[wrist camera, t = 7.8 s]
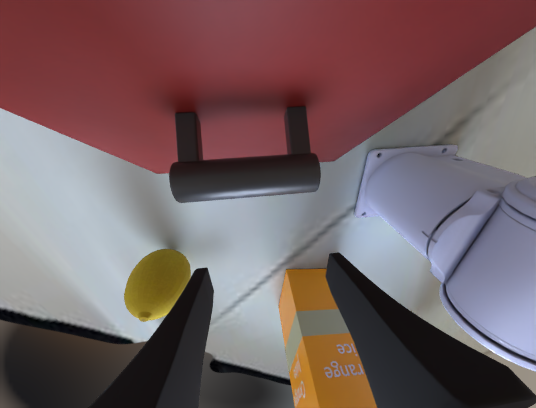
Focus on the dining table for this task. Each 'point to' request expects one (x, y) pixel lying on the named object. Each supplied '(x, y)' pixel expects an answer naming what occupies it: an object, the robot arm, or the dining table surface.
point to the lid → (239, 78)
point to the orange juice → (320, 346)
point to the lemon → (156, 284)
